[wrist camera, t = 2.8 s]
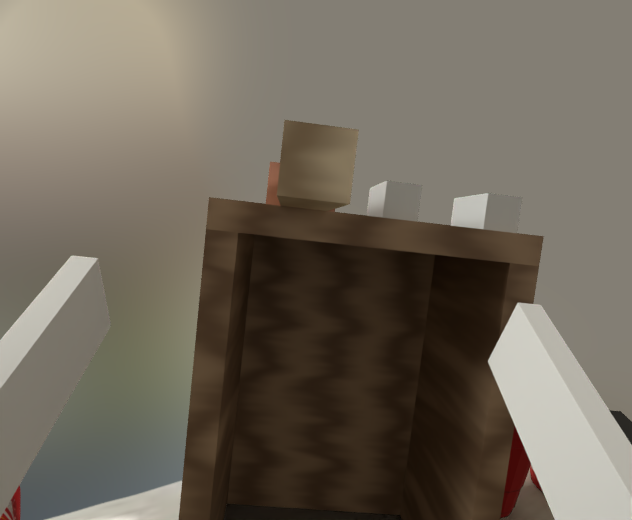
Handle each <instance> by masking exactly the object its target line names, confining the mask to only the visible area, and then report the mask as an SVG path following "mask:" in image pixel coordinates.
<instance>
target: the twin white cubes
mask: <svg viewBox="0 0 632 520" xmlns="http://www.w3.org/2000/svg"><path fill="white" fill-rule="evenodd" d="M421 190H422V185H418V184H410V183H402V182H394V181H385V182H383V183H380V184H378V185H376V186H374V187H371V188H370V193H369V200H368V209H367V216H373V217H382V218H390V219H399V220H408V221H416V222H417V221H418V212H419V206H420V198H421ZM521 203H522V197H516V196H508V195H499V194H491V193H486V194H480V195H473V196H467V197H460V198H455V199H454V205H453V212H452V219H451V226H459V227H467V228H476V229H484V230H493V231H501V232H510V233H517V229H518V222H519V216H520V209H521Z"/></svg>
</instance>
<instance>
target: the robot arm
mask: <svg viewBox="0 0 632 520" xmlns="http://www.w3.org/2000/svg"><path fill="white" fill-rule="evenodd" d="M110 326H111V324H110V318H109V313H108V308H107V303H106V297H105V292H104V287H103V282H102V277H101V272H100V267H99V261H98V258H90V257H81V256H71V257H70V258H69V259H68V261H67V262H66V263H65V264H64V265H63V266H62V268H61V269H60V270H59V271H58V272H57V273H56V275H55V276H54V277H53V278H52V279H51V281H50V282H49V283H48V284H47V285H46V287H45V288H44V289H43V290H42V291H41V292H40V294H39V295H38V296H37V297H36V298H35V299H34V301H33V302H32V303H31V304H30V305H29V307H28V308H27V309H26V310H25V311H24V313H23V314H22V315H21V316H20V317H19V318H18V320H17V321H16V322H15V323H14V325H13V326H12V327H11V328H10V329H9V330H8V331H7V333H6V334H5V335H4V336H3V338H2V339H1V340H0V518H1V516H2V514H3V513H4V511H5V509H6V507H7V506H8V504H9V502H10V500H11V499H12V497H13V495H14V493H15V492H16V490H17V488H18V486H19V485H20V483H21V481H22V479H23V478H24V476H25V474H26V472H27V471H28V469H29V467H30V465H31V464H32V462H33V460H34V459H35V457H36V455H37V453H38V452H39V450H40V448H41V446H42V445H43V443H44V441H45V439H46V438H47V436H48V434H49V432H50V431H51V429H52V427H53V425H54V424H55V422H56V420H57V418H58V417H59V415H60V413H61V411H62V410H63V408H64V406H65V405H66V403H67V401H68V399H69V398H70V396H71V394H72V392H73V390H74V389H75V387H76V385H77V384H78V382H79V380H80V378H81V377H82V375H83V373H84V371H85V370H86V368H87V366H88V364H89V363H90V361H91V359H92V357H93V356H94V354H95V352H96V351H97V349H98V347H99V345H100V343H101V342H102V340H103V338H104V336H105V335H106V333H107V331H108V329H109V328H110ZM488 363H489V366H490V368H491V370H492V373H493V375H494V377H495V380H496V382H497V384H498V387H499V389H500V392H501V394H502V396H503V399H504V401H505V403H506V406H507V408H508V410H509V413H510V415H511V417H512V420H513V422H514V425H515V427H516V429H517V432H518V434H519V436H520V439H521V441H522V443H523V446H524V448H525V451H526V453H527V455H528V458H529V460H530V462H531V465H532V467H533V469H534V472H535V474H536V476H537V479H538V481H539V484H540V486H541V488H542V491H543V493H544V495H545V498H546V500H547V502H548V505H549V507H550V509H551V512H552V514H553V517H554V519H555V520H632V422H631V421H630V420H629V419H628V418H627V417H626V416H625V415H624V414H623V413H622V412H621V411H610V410H609V409H608V408H607V406H606V405H605V403H604V402H603V400H602V399H601V397H600V395H599V394H598V392H597V391H596V389H595V388H594V386H593V385H592V383H591V382H590V380H589V379H588V377H587V375H586V374H585V372H584V371H583V369H582V368H581V366H580V365H579V363H578V362H577V360H576V358H575V357H574V355H573V354H572V352H571V351H570V349H569V348H568V346H567V345H566V343H565V342H564V340H563V338H562V337H561V335H560V334H559V332H558V331H557V329H556V328H555V326H554V325H553V323H552V321H551V320H550V318H549V317H548V315H547V314H546V312H545V311H544V309H543V308H542V306H541V305H537V304H527V303H517V305H516V307H515V309H514V311H513V313H512V315H511V317H510V319H509V321H508V323H507V325H506V327H505V329H504V331H503V332H502V334H501V336H500V338H499V340H498V342H497V344H496V346H495V348H494V350H493V352H492V354H491V356H490V358H489V360H488Z"/></svg>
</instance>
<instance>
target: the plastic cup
mask: <svg viewBox="0 0 632 520" xmlns="http://www.w3.org/2000/svg"><path fill="white" fill-rule="evenodd" d="M530 466H531V462H530V460H529V458H528V455H527V453H526V451H525V448H524V446H523V443H522V441H521V439H520V436H519V434H518V432H517V429H516V427H515V425H514V432H513V438H512V445H511V451H510V458H509V464H508V471H507V477H506V484H505V490H504V497H503V503H502V510H501V516H500V518H502V517H506V516H508V515H509V514H510V513H511V512H512V509H513V508H514V506H515V504H516V501H517V498H518V495H519V492H520V489H521V487H522V486H523V484H524V482H525V479H526V476H527V474H528V471H529V468H530Z"/></svg>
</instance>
